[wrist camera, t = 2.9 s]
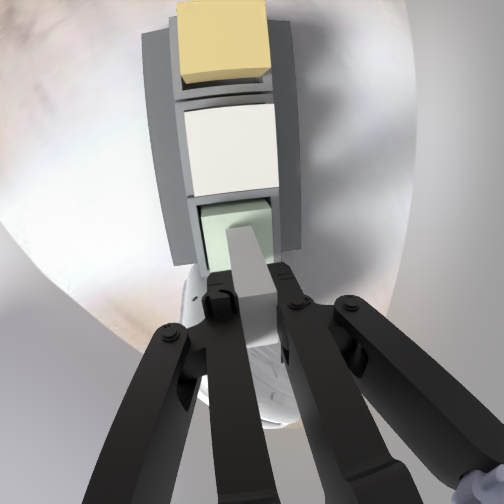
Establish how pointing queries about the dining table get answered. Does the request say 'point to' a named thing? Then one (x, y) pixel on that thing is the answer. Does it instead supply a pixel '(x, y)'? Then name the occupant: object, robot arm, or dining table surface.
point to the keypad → (176, 147)
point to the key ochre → (222, 39)
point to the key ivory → (232, 148)
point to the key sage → (234, 216)
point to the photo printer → (260, 358)
